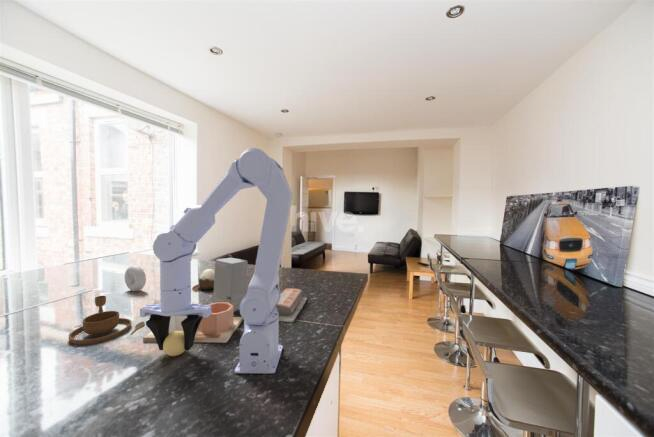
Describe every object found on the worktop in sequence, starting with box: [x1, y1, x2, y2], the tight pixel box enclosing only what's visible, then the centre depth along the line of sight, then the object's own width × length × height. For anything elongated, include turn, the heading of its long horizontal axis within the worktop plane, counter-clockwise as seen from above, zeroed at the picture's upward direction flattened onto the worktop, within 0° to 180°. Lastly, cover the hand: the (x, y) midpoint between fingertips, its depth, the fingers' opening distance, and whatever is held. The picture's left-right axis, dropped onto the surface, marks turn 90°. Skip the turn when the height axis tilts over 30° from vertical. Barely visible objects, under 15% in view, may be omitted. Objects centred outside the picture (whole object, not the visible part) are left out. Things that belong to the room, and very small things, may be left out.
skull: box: [191, 268, 215, 293], centre depth 102 cm, size 12×10×10 cm
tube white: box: [169, 301, 194, 334], centre depth 66 cm, size 8×8×5 cm
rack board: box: [142, 316, 244, 344], centre depth 66 cm, size 12×20×1 cm, turn 90°
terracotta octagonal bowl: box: [198, 302, 234, 334], centre depth 66 cm, size 8×8×5 cm
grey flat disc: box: [124, 264, 147, 292], centre depth 96 cm, size 10×4×10 cm, turn 66°
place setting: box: [68, 295, 145, 346], centre depth 68 cm, size 18×20×6 cm
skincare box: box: [212, 257, 248, 313], centre depth 81 cm, size 8×7×16 cm
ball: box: [162, 331, 186, 357], centre depth 55 cm, size 5×5×5 cm
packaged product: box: [276, 287, 308, 323], centre depth 81 cm, size 18×5×10 cm
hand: (176, 347), depth 55 cm, fingers closed on ball, 5 cm apart
